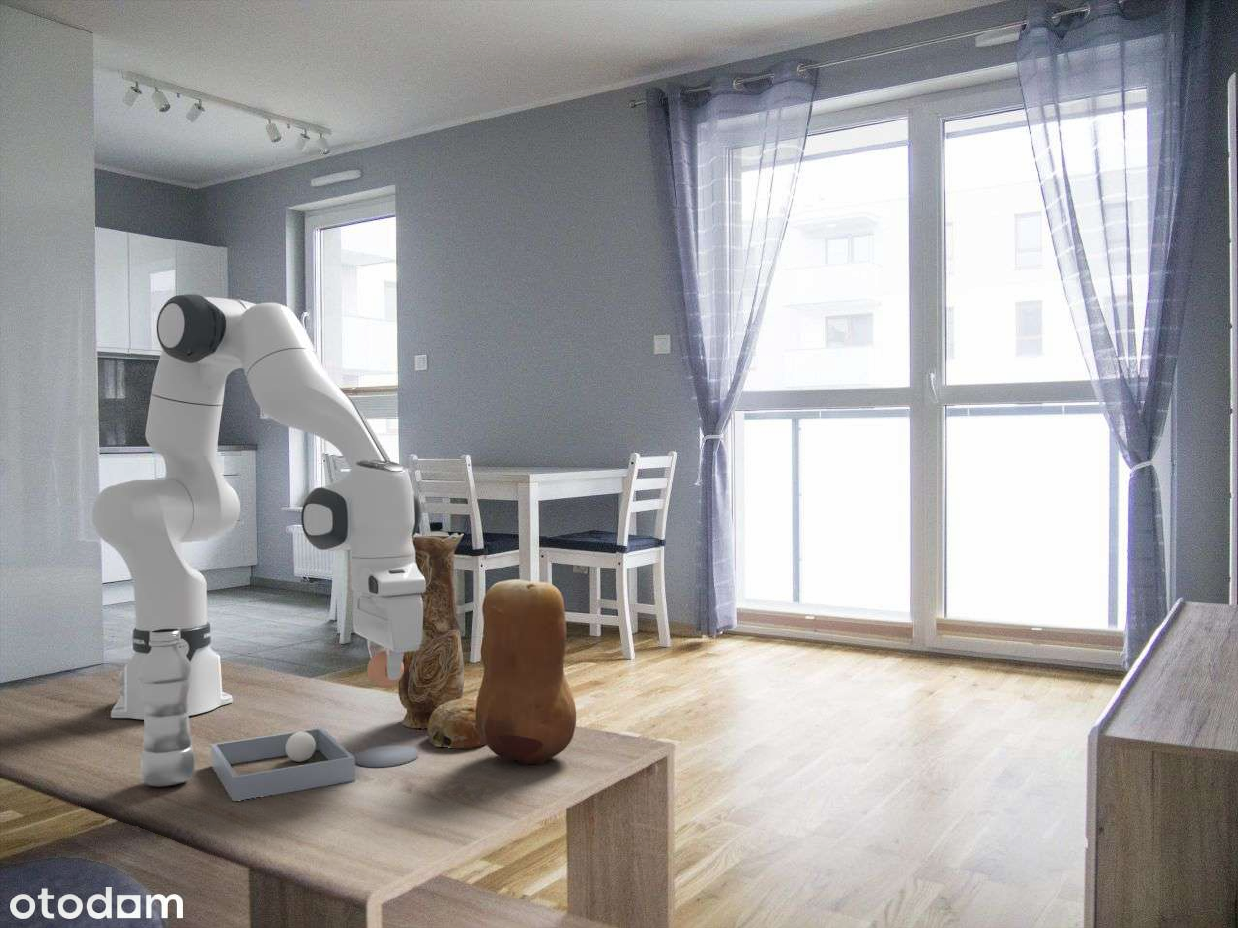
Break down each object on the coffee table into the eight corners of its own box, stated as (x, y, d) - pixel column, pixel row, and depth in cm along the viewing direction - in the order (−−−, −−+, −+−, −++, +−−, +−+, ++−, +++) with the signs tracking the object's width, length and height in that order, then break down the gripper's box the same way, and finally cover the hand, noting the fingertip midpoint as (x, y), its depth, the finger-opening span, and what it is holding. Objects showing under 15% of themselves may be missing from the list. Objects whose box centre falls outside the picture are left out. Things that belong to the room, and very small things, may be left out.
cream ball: (283, 759, 138) (282, 731, 138) (312, 755, 140) (311, 727, 140) (289, 767, 135) (288, 738, 135) (319, 762, 137) (318, 733, 137)
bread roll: (421, 767, 146) (408, 724, 143) (453, 721, 155) (441, 680, 151) (481, 774, 143) (469, 730, 139) (510, 726, 151) (499, 684, 148)
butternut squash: (573, 743, 144) (570, 572, 144) (580, 772, 131) (577, 583, 131) (476, 748, 143) (474, 575, 142) (474, 778, 129) (471, 587, 129)
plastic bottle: (160, 796, 124) (157, 636, 124) (129, 787, 128) (126, 632, 128) (206, 781, 130) (203, 628, 129) (174, 773, 133) (172, 624, 133)
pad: (345, 754, 140) (345, 752, 140) (406, 744, 145) (406, 742, 145) (363, 771, 133) (363, 769, 133) (427, 760, 137) (427, 758, 137)
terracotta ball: (363, 686, 140) (362, 650, 140) (397, 681, 142) (396, 646, 142) (373, 693, 135) (373, 656, 135) (409, 688, 138) (408, 652, 138)
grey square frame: (211, 766, 136) (210, 744, 136) (321, 748, 144) (321, 727, 144) (233, 802, 121) (233, 778, 121) (355, 780, 129) (354, 757, 129)
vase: (432, 710, 164) (430, 530, 164) (480, 719, 158) (477, 532, 158) (384, 725, 156) (381, 534, 156) (432, 735, 150) (429, 537, 149)
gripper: (340, 571, 146) (342, 665, 146) (383, 585, 128) (386, 691, 128) (382, 568, 149) (384, 660, 149) (430, 581, 132) (432, 685, 132)
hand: (385, 674), depth 139 cm, fingers closed on terracotta ball, 5 cm apart
